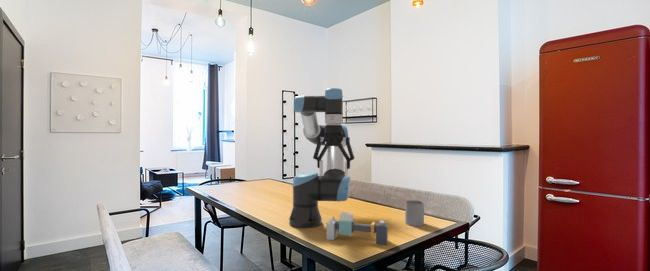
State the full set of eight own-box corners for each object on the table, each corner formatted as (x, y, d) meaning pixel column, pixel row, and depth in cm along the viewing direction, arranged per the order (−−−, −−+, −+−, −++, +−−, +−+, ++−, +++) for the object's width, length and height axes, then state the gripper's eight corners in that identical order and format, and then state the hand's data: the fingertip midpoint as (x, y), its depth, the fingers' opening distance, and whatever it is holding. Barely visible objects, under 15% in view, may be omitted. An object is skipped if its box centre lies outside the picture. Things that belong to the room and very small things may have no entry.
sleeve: (339, 234, 126) (339, 214, 126) (341, 230, 131) (341, 211, 131) (351, 235, 125) (351, 215, 125) (353, 231, 130) (353, 212, 130)
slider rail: (326, 239, 127) (326, 219, 127) (330, 234, 133) (330, 215, 133) (386, 245, 121) (386, 224, 121) (387, 240, 127) (387, 220, 127)
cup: (424, 226, 144) (424, 204, 144) (405, 225, 146) (405, 203, 146) (422, 221, 153) (422, 200, 152) (405, 220, 154) (405, 200, 154)
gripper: (305, 124, 137) (305, 176, 137) (358, 124, 131) (358, 178, 131) (310, 124, 144) (310, 173, 144) (361, 124, 138) (361, 175, 138)
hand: (333, 176), depth 138 cm, fingers open, 10 cm apart
